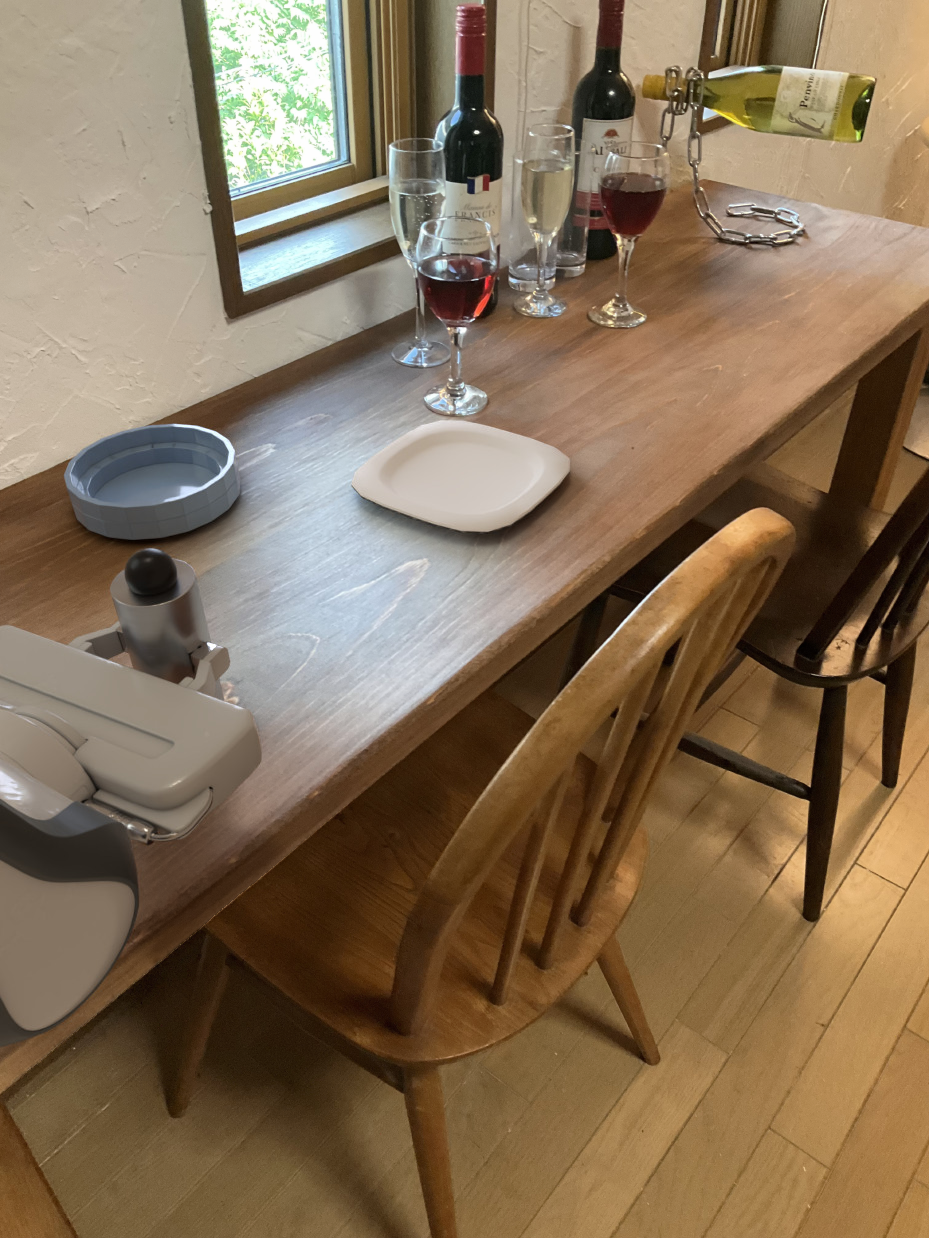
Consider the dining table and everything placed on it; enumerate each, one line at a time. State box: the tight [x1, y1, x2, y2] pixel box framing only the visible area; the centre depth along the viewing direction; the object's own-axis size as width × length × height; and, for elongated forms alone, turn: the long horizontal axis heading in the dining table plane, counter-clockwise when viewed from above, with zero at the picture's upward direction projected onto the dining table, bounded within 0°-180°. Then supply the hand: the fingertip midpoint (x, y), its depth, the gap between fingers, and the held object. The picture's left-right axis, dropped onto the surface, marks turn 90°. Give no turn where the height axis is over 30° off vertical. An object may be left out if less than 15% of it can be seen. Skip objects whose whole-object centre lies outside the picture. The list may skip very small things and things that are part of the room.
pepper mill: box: [109, 547, 225, 701], centre depth 61 cm, size 5×5×15 cm
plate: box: [350, 419, 571, 535], centre depth 92 cm, size 18×18×2 cm
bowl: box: [63, 423, 242, 541], centre depth 90 cm, size 15×15×4 cm
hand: (178, 638), depth 61 cm, fingers closed on pepper mill, 5 cm apart
